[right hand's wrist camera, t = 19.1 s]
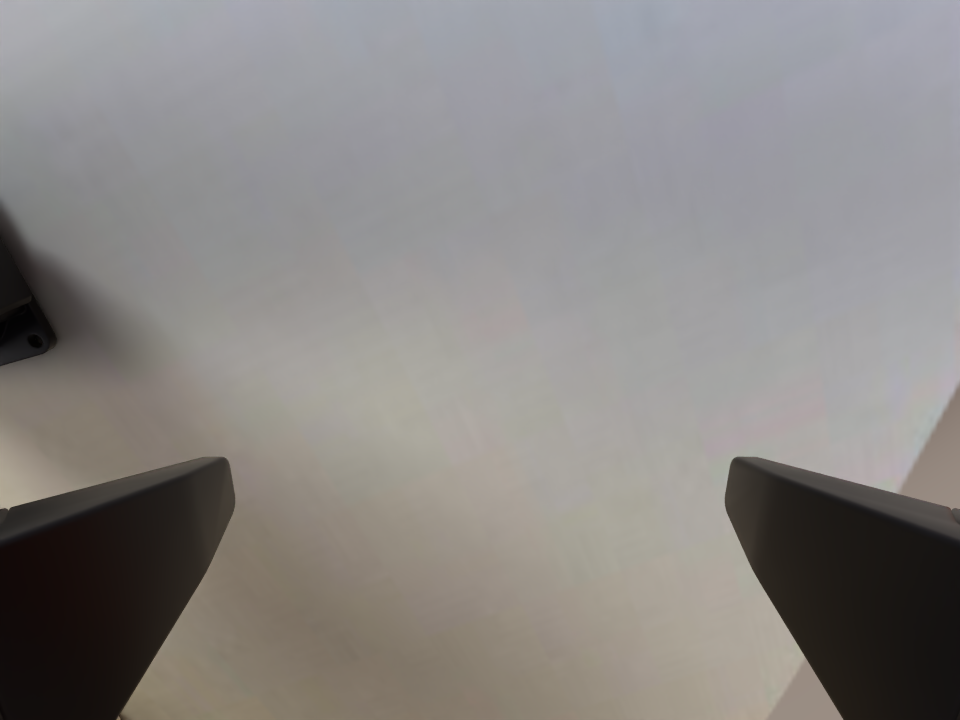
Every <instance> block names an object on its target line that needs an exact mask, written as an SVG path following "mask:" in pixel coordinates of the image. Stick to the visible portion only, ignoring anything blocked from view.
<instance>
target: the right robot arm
mask: <svg viewBox="0 0 960 720" xmlns="http://www.w3.org/2000/svg"><path fill="white" fill-rule="evenodd" d="M35 335H37V336H39V337H40V338H41V339H42V342H43V344H42V343H40V342H38V341H37V340H36V337H35ZM56 340H57V338H56V336H55V333H54V331H53V330H52V328H51V326H50V324H49V323H48V321H47V319H46V317H45V316H44V314H43V312H42V310H41V309H40V307H39V305H38V303H37V301H36V300H35V298H34V296H33V294H32V293H31V291H30V289H29V287H28V286H27V284H26V282H25V280H24V278H23V277H22V275H21V273H20V271H19V270H18V268H17V266H16V264H15V263H14V261H13V259H12V257H11V256H10V254H9V252H8V250H7V249H6V247H5V245H4V243H3V242H2V240H1V238H0V366H2V365H5V364H9V363H12V362H16V361H19V360H23V359H26V358H30V357H33V356H37V355H40V354H43V353H45V352H47V351H48V350H50V349H52V348H54V346H55V345H56ZM234 507H235V493H234V487H233V481H232V475H231V470H230V464H229V462H228V460H227V459H226V458H224V457H202V458H198V459H194V460H190V461H186V462H183V463H179V464H175V465H171V466H167V467H163V468H160V469H156V470H152V471H148V472H144V473H140V474H137V475H133V476H129V477H125V478H121V479H118V480H114V481H110V482H106V483H102V484H98V485H95V486H91V487H87V488H83V489H79V490H76V491H72V492H68V493H64V494H60V495H56V496H53V497H49V498H45V499H41V500H37V501H33V502H30V503H26V504H22V505H18V506H14V507H11V508H10V509H9V511H8V509H6V508H3V509H0V720H117V718H118V716H119V715H120V713H121V711H122V710H123V708H124V706H125V705H126V703H127V702H128V700H129V698H130V697H131V695H132V693H133V692H134V690H135V688H136V687H137V685H138V684H139V682H140V680H141V679H142V677H143V675H144V674H145V672H146V670H147V669H148V667H149V665H150V664H151V662H152V661H153V659H154V657H155V656H156V654H157V652H158V651H159V649H160V647H161V646H162V644H163V643H164V641H165V639H166V638H167V636H168V634H169V633H170V631H171V629H172V628H173V626H174V624H175V623H176V621H177V620H178V618H179V616H180V615H181V613H182V611H183V610H184V608H185V606H186V605H187V603H188V601H189V600H190V598H191V597H192V595H193V593H194V592H195V590H196V588H197V587H198V585H199V583H200V582H201V580H202V578H203V577H204V575H205V573H206V571H207V569H208V567H209V565H210V563H211V561H212V559H213V557H214V554H215V552H216V550H217V548H218V545H219V543H220V541H221V539H222V536H223V534H224V532H225V530H226V527H227V525H228V523H229V521H230V518H231V516H232V514H233V511H234ZM725 507H726V511H727V514H728V516H729V518H730V521H731V523H732V525H733V527H734V530H735V532H736V534H737V536H738V539H739V541H740V543H741V545H742V548H743V550H744V552H745V554H746V557H747V559H748V561H749V563H750V565H751V567H752V569H753V571H754V573H755V575H756V577H757V578H758V580H759V582H760V583H761V585H762V587H763V588H764V590H765V592H766V593H767V595H768V597H769V598H770V600H771V601H772V603H773V605H774V606H775V608H776V610H777V611H778V613H779V615H780V616H781V618H782V620H783V621H784V623H785V624H786V626H787V628H788V629H789V631H790V633H791V634H792V636H793V638H794V639H795V641H796V642H797V644H798V646H799V647H800V649H801V651H802V652H803V654H804V656H805V657H806V659H807V660H808V662H809V664H810V665H811V667H812V669H813V670H814V672H815V674H816V675H817V677H818V679H819V680H820V682H821V683H822V685H823V687H824V688H825V690H826V692H827V693H828V695H829V697H830V698H831V700H832V702H833V703H834V705H835V706H836V708H837V710H838V711H839V713H840V715H841V716H842V718H843V720H960V509H957V508H954V509H952V511H951V509H950V508H949V507H945V506H942V505H938V504H934V503H930V502H927V501H923V500H919V499H915V498H911V497H907V496H904V495H900V494H896V493H892V492H888V491H885V490H881V489H877V488H873V487H869V486H865V485H862V484H858V483H854V482H850V481H846V480H842V479H839V478H835V477H831V476H827V475H823V474H820V473H816V472H812V471H808V470H804V469H800V468H797V467H793V466H789V465H785V464H781V463H778V462H774V461H770V460H766V459H762V458H758V457H736V458H734V459H733V460H732V462H731V464H730V470H729V475H728V481H727V487H726V493H725Z"/></svg>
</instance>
